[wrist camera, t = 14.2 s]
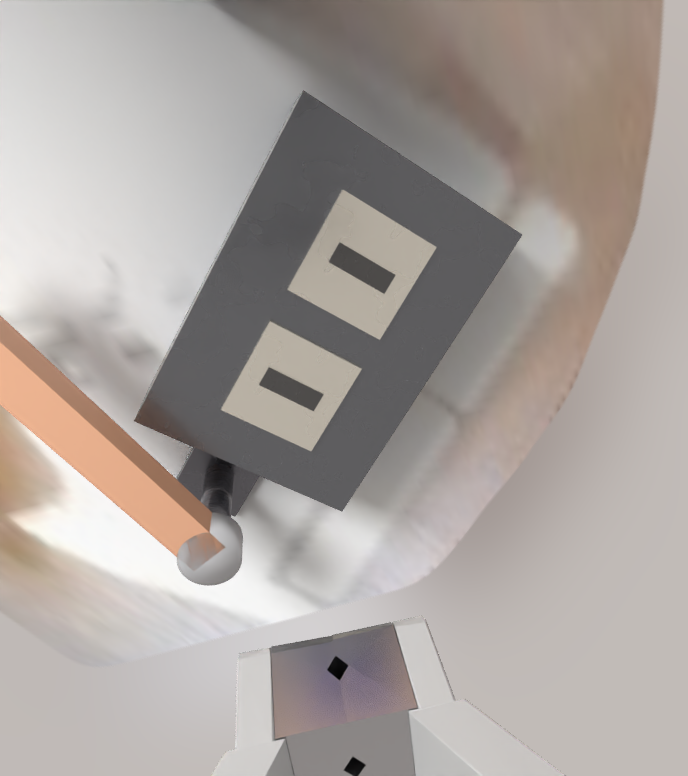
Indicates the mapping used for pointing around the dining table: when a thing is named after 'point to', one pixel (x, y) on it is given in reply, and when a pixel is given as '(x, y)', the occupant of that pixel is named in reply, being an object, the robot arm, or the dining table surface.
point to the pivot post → (216, 482)
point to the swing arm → (115, 462)
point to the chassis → (324, 309)
